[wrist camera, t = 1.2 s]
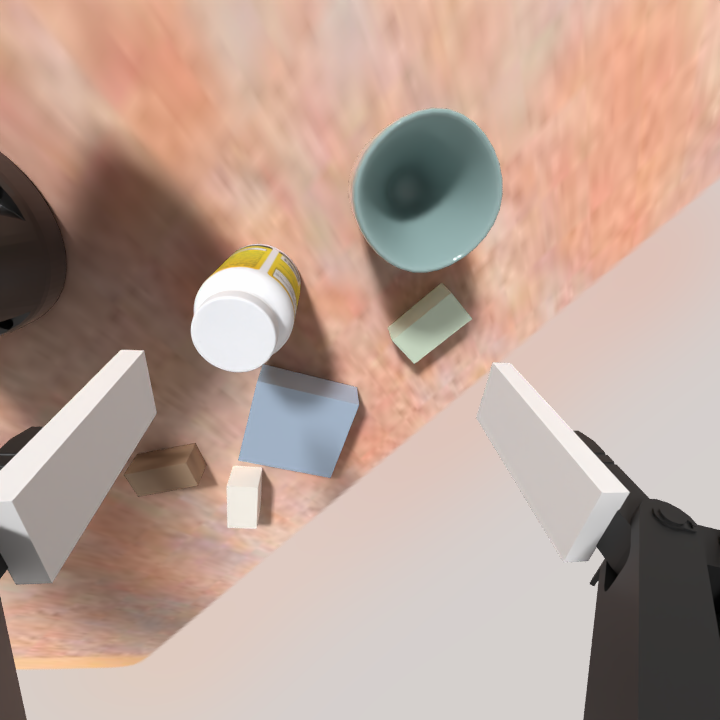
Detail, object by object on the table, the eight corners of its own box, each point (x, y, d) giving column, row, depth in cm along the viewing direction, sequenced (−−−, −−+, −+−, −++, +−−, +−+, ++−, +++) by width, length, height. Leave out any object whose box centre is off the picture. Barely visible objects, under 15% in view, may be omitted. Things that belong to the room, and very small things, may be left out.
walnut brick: (151, 474, 39) (138, 496, 37) (138, 452, 38) (123, 474, 35) (206, 463, 39) (197, 485, 37) (196, 441, 38) (185, 462, 35)
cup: (467, 198, 29) (528, 214, 20) (385, 260, 31) (407, 300, 22) (413, 99, 26) (458, 66, 17) (324, 175, 27) (322, 180, 19)
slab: (244, 439, 38) (238, 460, 35) (262, 364, 34) (257, 381, 31) (330, 456, 40) (330, 477, 37) (356, 387, 36) (359, 404, 33)
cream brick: (261, 505, 43) (256, 528, 40) (233, 504, 42) (227, 527, 40) (262, 466, 40) (257, 487, 37) (233, 464, 40) (226, 486, 37)
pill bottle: (214, 298, 31) (161, 360, 21) (239, 228, 29) (193, 261, 19) (284, 328, 33) (265, 398, 23) (314, 264, 30) (307, 312, 21)
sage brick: (407, 348, 35) (414, 363, 32) (387, 326, 34) (392, 340, 31) (460, 306, 33) (472, 318, 30) (441, 281, 32) (451, 292, 29)
